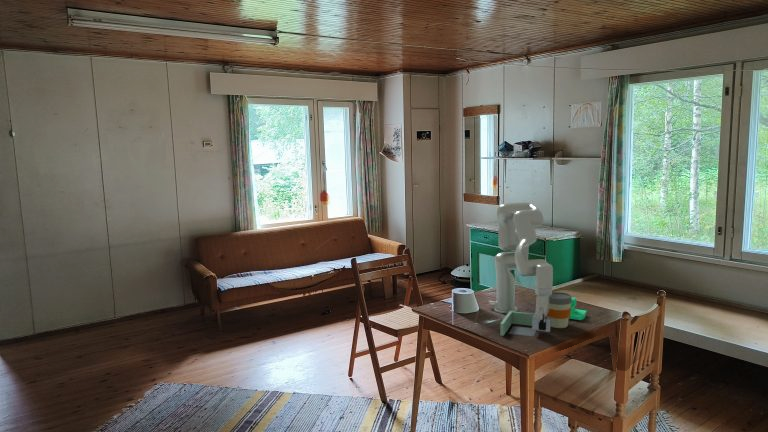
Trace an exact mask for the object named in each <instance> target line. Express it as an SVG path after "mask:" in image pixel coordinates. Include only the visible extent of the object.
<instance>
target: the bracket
mask: <svg viewBox="0 0 768 432" xmlns="http://www.w3.org/2000/svg"><path fill="white" fill-rule="evenodd" d="M535 313H536V311H535V312H534V315H533V318H532V326H531V328H532V329H534V330H537V331H540V332H547V333H550V332H551V328H552V327H551V318H548V317H546V318H545V322H546V330H545V331H544V330H539V314H538V315H537V316H536V315H535ZM543 318H544V317H543Z"/></svg>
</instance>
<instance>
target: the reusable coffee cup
mask: <svg viewBox="0 0 768 432" xmlns="http://www.w3.org/2000/svg"><path fill="white" fill-rule="evenodd" d="M572 298H573V297H572V295H571V294H570V293H567V292H566V293H565V292H562V291H561V292H559V291H552V295H550V303H549V312H548V314H547V317H548V318H551V328H556V329H565V328H567V327H568V325H569V320H570V319H569V317H570V313H571V303H572Z"/></svg>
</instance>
